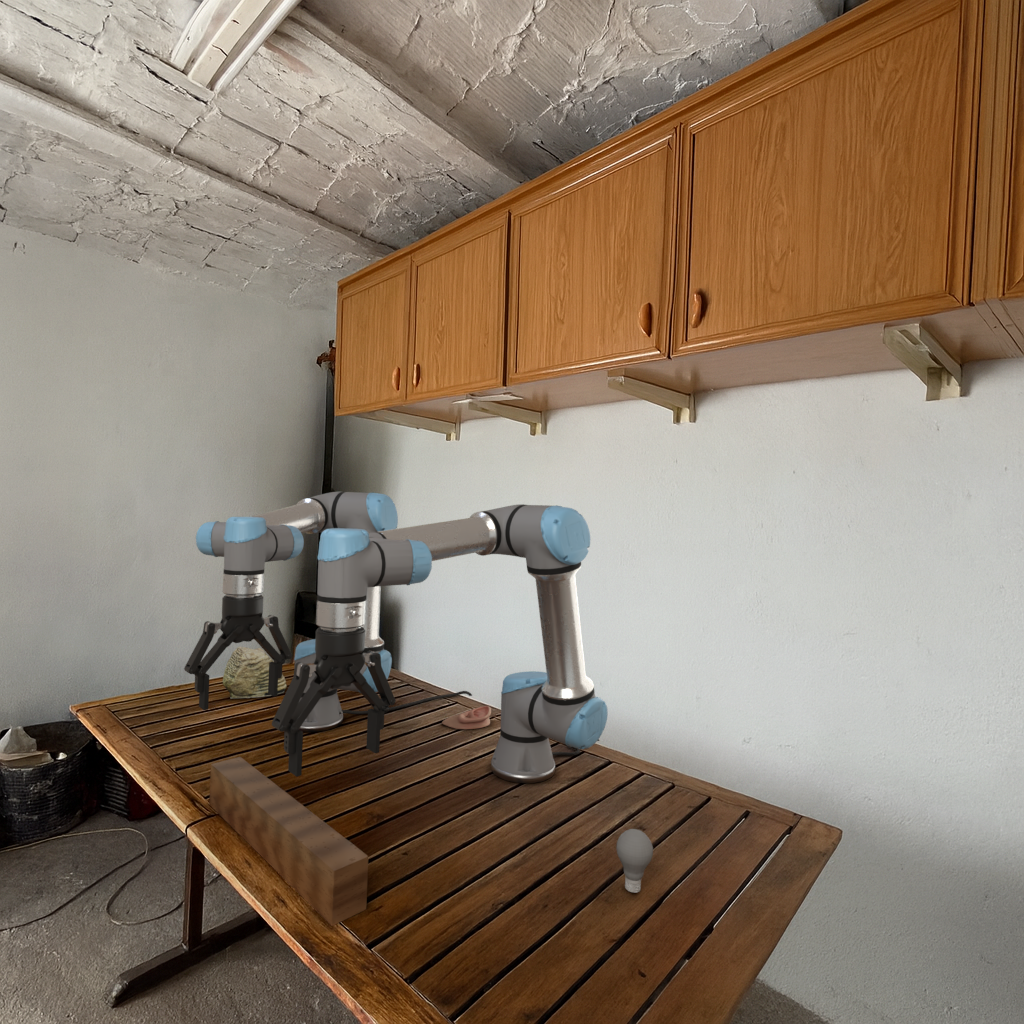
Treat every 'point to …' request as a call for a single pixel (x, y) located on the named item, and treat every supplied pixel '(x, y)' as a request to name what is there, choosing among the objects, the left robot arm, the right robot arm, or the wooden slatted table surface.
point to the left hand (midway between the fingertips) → (239, 701)
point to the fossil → (249, 674)
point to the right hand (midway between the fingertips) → (335, 761)
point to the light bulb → (634, 857)
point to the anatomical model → (470, 719)
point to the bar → (291, 840)
